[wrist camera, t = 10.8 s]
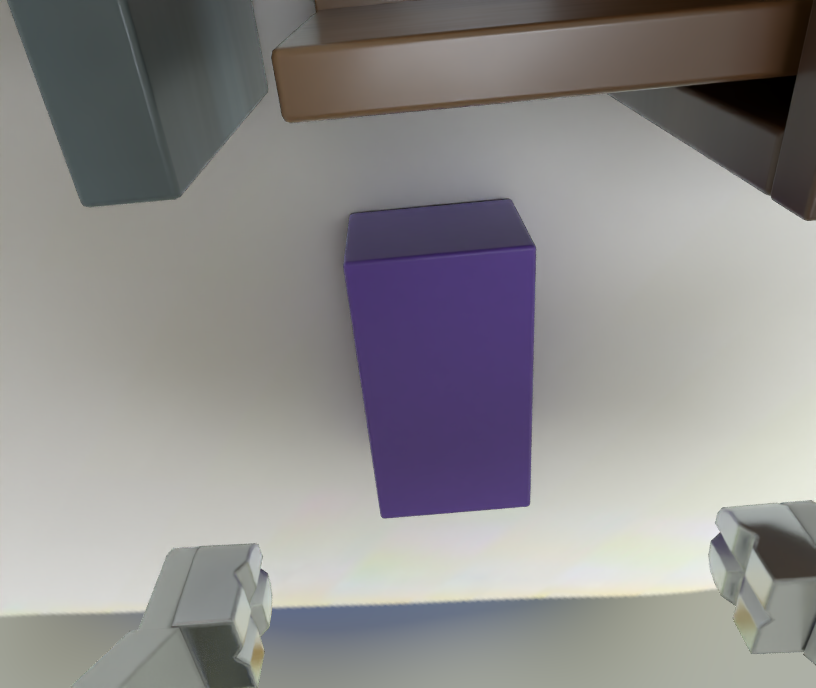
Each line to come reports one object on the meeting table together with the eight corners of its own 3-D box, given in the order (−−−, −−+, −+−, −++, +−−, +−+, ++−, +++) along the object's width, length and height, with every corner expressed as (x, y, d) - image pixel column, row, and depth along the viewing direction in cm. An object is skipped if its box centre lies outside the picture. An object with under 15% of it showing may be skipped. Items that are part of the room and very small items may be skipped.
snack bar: (381, 446, 20) (380, 520, 17) (349, 212, 16) (342, 263, 13) (511, 435, 19) (530, 507, 17) (512, 197, 16) (537, 245, 13)
